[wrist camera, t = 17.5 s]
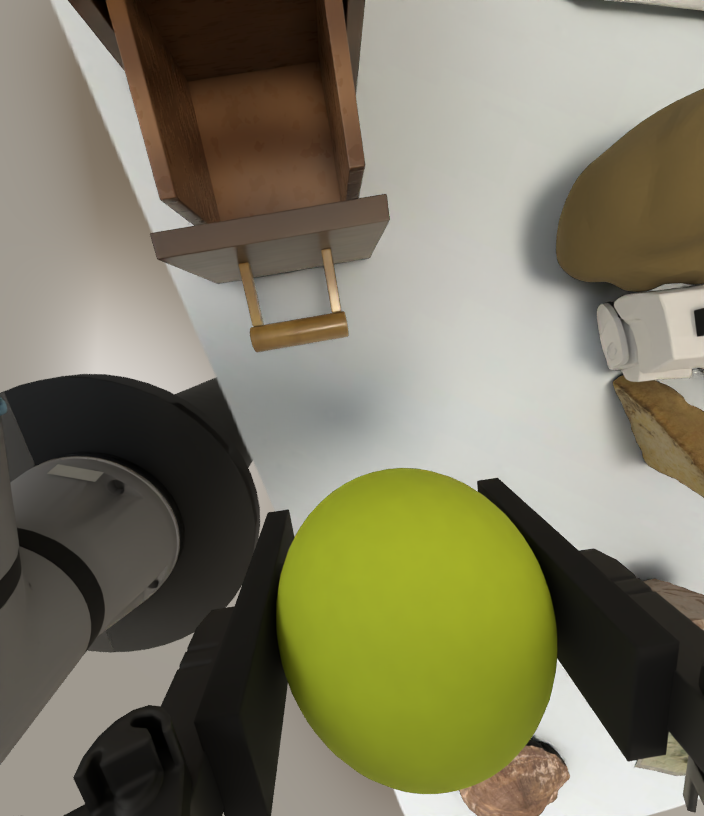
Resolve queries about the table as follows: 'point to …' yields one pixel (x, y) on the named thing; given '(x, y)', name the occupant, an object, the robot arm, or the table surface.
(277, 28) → the drawer
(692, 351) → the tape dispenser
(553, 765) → the brown rocky slab
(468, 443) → the table surface
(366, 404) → the table surface
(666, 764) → the topographic map
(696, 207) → the decorative stone
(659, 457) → the rock
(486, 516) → the tennis ball
